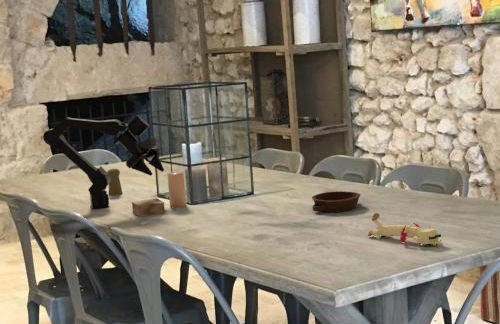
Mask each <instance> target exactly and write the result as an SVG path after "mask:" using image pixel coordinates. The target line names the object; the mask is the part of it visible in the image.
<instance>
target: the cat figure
mask: <svg viewBox="0 0 500 324" xmlns="http://www.w3.org/2000/svg"><path fill="white" fill-rule="evenodd" d="M379 218H380V213H378V212H375V213H374V214H373V215H372V218H371V221H372V222H373V223H374V224H375V226H376V227H375V230H374V229H372V228H370V229H368V233H367V237H368V236H371V235H374V236H373V237H375V236H380V235H381V236H386V237H392V238H393V237H400V238H399V240H400V242H401V243H402V242H405V243H406V241H407V239H408V238H410V239H413V240H415V243H417V244H419V243H422V244H431V245H432V244H439V245H440V243H441V242H443V240H442V239H440V240H439V238H441V237H442V234H441V233H439V232H438V230H437V229H436V228H425V229H424V228H422V227H420V225H419V224H418V223H415V222H413V225H415V226H412V225H403V224H402V225H400V224H390V225H382V223H381V222H380V221H379V220H378V219H379Z"/></svg>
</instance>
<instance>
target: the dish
mask: <svg viewBox="0 0 500 324" xmlns="http://www.w3.org/2000/svg"><path fill="white" fill-rule="evenodd" d="M360 197H361V194H360V193H359V192H355V191H343V190H342V191H337V190H336V191H325V192H321V193H317V194H314V195H313V196H312V197H311V199H312V201H313V203H314V204H313V205H312V211H313V212H323V211H325V212H324V213H338V212H337V211H341V212H345V210H347V211H350V209H351V210H353V209H355V208H356V207H357V205H358V202H359V199H360Z"/></svg>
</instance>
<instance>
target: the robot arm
mask: <svg viewBox="0 0 500 324" xmlns="http://www.w3.org/2000/svg"><path fill="white" fill-rule="evenodd" d="M149 128H150V124H149V123H148V121H147V120H146V119H144V118H143V117H141V116H139V115H138V114H136V115H135V116H134V117H133V119H132V120H131V121H130V122H129V123H126V122H121V121H120V119H105V120H93V119H84V118H72V117H70V116H69V117H65V118H64V119H63V120H61V122H60V123H58V124H57V125H56V126H55V127H53V128H50V129H48V130H46V131H45V132H44V133H43V136H42V139H43V142H45V144H46V145H48V146H49V147H51V148H53V149H56V150H58V151H59V152H61V153H62V154H63V155H64V156H66V157H67V158H68V159H69V160H70V162H72V163H73V164H74V165H76V166H77V167H78V169H80V170H81V171H83V173H85V175H86V176H87V178H88V179H89V181H90V182H91V186H90V187H88V190H87V191H88V193H89V200H90V205H89V206H90V208H91V209H93V210H96V209H102V208H109V207H110V200H109V199H110V198H109V193H108V194H107V190H106V189H107V187H108V186H109V183H110V176H109V175H108V173H109V172H108V171H106V170H105V169H104V167H103V166H99V167H96V166H94V165H93V164H92V163H91V162H90V161H89V160H88V159H86V158H85V157H84V156H83V155H82V154H81V153H80V152H78V150H76V149H75V148H74V147H73V146H72V145H71V144H70V143H69V142H68V141H67V139H66V137H65V136H64V134H65V133H66V132H67V131H68V130H69V129H77V130H86V131H95V132H100V133H102V134H105V135H110V136H114V137H113V145H119V144H120V145H122V147H123V148H124V149H125V150H126V151H125V153H126V154H127V155H130V156H129V157H128V159H127V160H126V161H125V166H126V167H127V168H128V169H132V170H134V171H138V172H141V173H143V174H146V175H148V176H153V172H152V171H151V169H150V168H149V167H148V165H150V166H152V167H154V168H155V169H156V170H158V171H160V172H164V171H165V169H164V166H163V164H162V162H161V160H160V155H161V150H160V148H159V147H154V146H156V145H157V144H158V143H157V141H158V140H157V138H155V136H154V135H151V136H148V137H147V138H146V139H145V140H138V139H137V138H136V137H141V136H142V135H143V134H144V133H145V132H146V131H147V130H148V129H149ZM116 135H118V136H117V137H115V136H116ZM145 161H146V162H147V163H148V165H147V164H146V163H145Z"/></svg>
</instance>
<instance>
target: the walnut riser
mask: <svg viewBox="0 0 500 324" xmlns="http://www.w3.org/2000/svg"><path fill="white" fill-rule="evenodd" d="M131 205H132V206H131V207H132V213H133V214H135V215H136V216H137V217H145V216H151V215H157V214H158V215H159V214H165V212H166V210H165V202H164V201H163V200H161V199H159V198H150V199H143V200H135V201H131Z"/></svg>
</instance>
